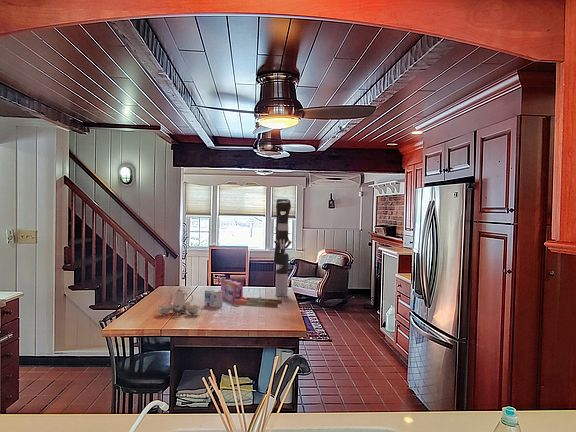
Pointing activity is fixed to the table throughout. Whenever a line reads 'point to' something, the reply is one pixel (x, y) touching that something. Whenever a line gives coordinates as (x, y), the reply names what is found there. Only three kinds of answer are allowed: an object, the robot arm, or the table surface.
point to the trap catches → (242, 300)
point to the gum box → (231, 289)
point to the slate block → (255, 298)
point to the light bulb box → (213, 298)
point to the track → (264, 303)
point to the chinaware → (178, 304)
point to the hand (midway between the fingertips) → (282, 254)
